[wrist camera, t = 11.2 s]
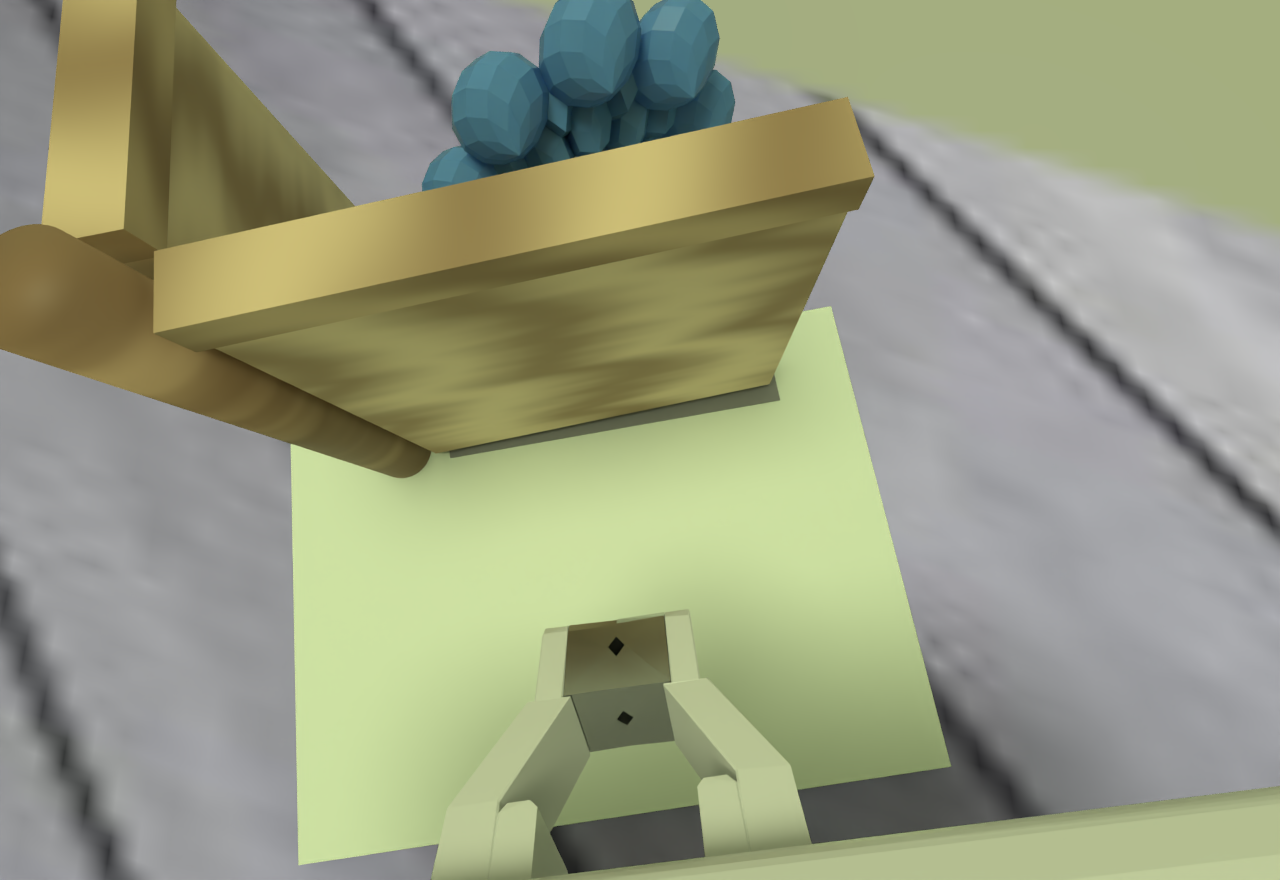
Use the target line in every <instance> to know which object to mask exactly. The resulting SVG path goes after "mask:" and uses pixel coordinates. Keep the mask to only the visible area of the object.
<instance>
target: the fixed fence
mask: <svg viewBox="0 0 1280 880" xmlns="http://www.w3.org/2000/svg"><path fill="white" fill-rule="evenodd" d="M350 207H355V206H354V205H353V204H352V202H351V201H350V200H349V199H348V198H347V197H346V196H345V195H344V194H343V192H342V191H341V190H340V189H339V188H338V187H337V186H336V185H335V184H334V182H333V181H332V180H331V179H330V178H329V177H328V176H327V175H326V174H325V172H324V171H323V170H322V169H321V168H320V167H319V166H318V165H317V164H316V162H315V161H314V160H313V159H312V158H311V157H310V156H309V155H308V154H307V153H306V151H305V150H304V149H303V148H302V147H301V146H300V145H299V144H298V143H297V141H296V140H295V139H294V138H293V137H292V136H291V135H290V134H289V133H288V131H287V130H286V129H285V128H284V127H283V126H282V125H281V124H280V123H279V121H278V120H277V119H276V118H275V117H274V116H273V115H272V114H271V113H270V111H269V110H268V109H267V108H266V107H265V106H264V105H263V104H262V103H261V101H260V100H259V99H258V98H257V97H256V96H255V95H254V94H253V93H252V91H251V90H250V89H249V88H248V87H247V86H246V85H245V84H244V83H243V81H242V80H241V79H240V78H239V77H238V76H237V75H236V74H235V73H234V72H233V70H232V69H231V68H230V67H229V66H228V65H227V64H226V63H225V62H224V60H223V59H222V58H221V57H220V56H219V55H218V54H217V53H216V52H215V50H214V49H213V48H212V47H211V46H210V45H209V44H208V43H207V42H206V40H205V39H204V38H203V37H202V36H201V35H200V34H199V33H198V32H197V30H196V29H195V28H194V27H193V26H192V25H191V24H190V23H189V22H188V20H187V19H186V18H185V17H184V16H183V15H182V14H181V13H180V12H179V10H178V9H177V8H176V0H63V6H62V16H61V27H60V37H59V48H58V58H57V69H56V79H55V90H54V100H53V111H52V121H51V132H50V142H49V153H48V163H47V174H46V184H45V195H44V205H43V216H42V224H32V225H25V226H21V227H17V228H14V229H12V230H9V231H7V232H5V233H3V234H1V235H0V349H2V350H5V351H8V352H11V353H14V354H17V355H20V356H23V357H26V358H30V359H33V360H36V361H39V362H42V363H45V364H48V365H51V366H54V367H57V368H60V369H63V370H66V371H69V372H73V373H76V374H79V375H82V376H85V377H88V378H91V379H94V380H97V381H100V382H103V383H106V384H109V385H112V386H115V387H119V388H122V389H125V390H128V391H131V392H134V393H137V394H140V395H143V396H146V397H149V398H152V399H155V400H158V401H162V402H165V403H168V404H171V405H174V406H177V407H180V408H183V409H186V410H189V411H192V412H195V413H198V414H201V415H204V416H208V417H211V418H214V419H217V420H220V421H223V422H226V423H229V424H232V425H235V426H238V427H241V428H244V429H247V430H250V431H254V432H257V433H260V434H263V435H266V436H269V437H272V438H275V439H278V440H281V441H284V442H287V443H290V444H293V445H297V446H300V447H303V448H306V449H309V450H312V451H315V452H318V453H321V454H324V455H327V456H330V457H333V458H336V459H339V460H343V461H346V462H349V463H352V464H355V465H358V466H361V467H364V468H367V469H370V470H373V471H376V472H379V473H382V474H386V475H389V476H392V477H395V478H407V477H411V476H413V475H415V474H417V473H418V472H420V471H421V470H422V469H423V468H424V467H425V465H426V464H427V462H428V460H429V458H430V454H431V451H429V450H427V449H425V448H423V447H421V446H419V445H417V444H415V443H413V442H411V441H408V440H406V439H404V438H402V437H400V436H398V435H396V434H394V433H392V432H390V431H387V430H385V429H383V428H381V427H379V426H377V425H375V424H373V423H371V422H369V421H366V420H364V419H362V418H360V417H358V416H356V415H354V414H352V413H350V412H348V411H345V410H343V409H341V408H339V407H337V406H335V405H333V404H331V403H329V402H327V401H324V400H322V399H320V398H318V397H316V396H314V395H312V394H310V393H308V392H306V391H303V390H301V389H299V388H297V387H295V386H293V385H291V384H289V383H287V382H285V381H282V380H280V379H278V378H276V377H274V376H272V375H270V374H268V373H266V372H264V371H261V370H259V369H257V368H255V367H253V366H251V365H249V364H247V363H245V362H243V361H240V360H238V359H236V358H234V357H232V356H230V355H228V354H226V353H224V352H222V351H219V350H217V349H210V350H205V351H201V352H194V351H192V350H190V349H187V348H185V347H183V346H181V345H178V344H176V343H174V342H172V341H170V340H167V339H165V338H163V337H161V336H158V335H156V334H154V333H153V308H154V251H157V250H161V249H166V248H170V247H175V246H179V245H184V244H188V243H193V242H197V241H202V240H206V239H211V238H215V237H220V236H224V235H229V234H233V233H238V232H242V231H247V230H251V229H256V228H260V227H265V226H269V225H274V224H278V223H283V222H287V221H292V220H296V219H301V218H305V217H310V216H314V215H319V214H323V213H328V212H332V211H337V210H341V209H346V208H350Z"/></svg>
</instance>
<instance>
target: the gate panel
mask: <svg viewBox="0 0 1280 880" xmlns="http://www.w3.org/2000/svg"><path fill="white" fill-rule="evenodd" d="M873 178H874V173H873V170H872V167H871V164H870V161H869V158H868V155H867V153H866V150H865V147H864V144H863V141H862V138H861V135H860V132H859V129H858V126H857V123H856V120H855V117H854V114H853V111H852V108H851V105H850V102H849V99H848V97H846V98H841V99H837V100H832V101H828V102H823V103H819V104H814V105H810V106H805V107H801V108H796V109H792V110H787V111H783V112H778V113H774V114H769V115H765V116H760V117H756V118H751V119H747V120H742V121H738V122H733V123H729V124H724V125H720V126H715V127H711V128H706V129H702V130H697V131H693V132H688V133H684V134H679V135H675V136H670V137H666V138H661V139H657V140H652V141H648V142H643V143H639V144H634V145H630V146H625V147H621V148H616V149H612V150H607V151H603V152H598V153H594V154H589V155H585V156H580V157H576V158H571V159H567V160H562V161H558V162H553V163H549V164H544V165H540V166H535V167H531V168H526V169H522V170H517V171H513V172H508V173H504V174H499V175H495V176H490V177H486V178H481V179H477V180H472V181H468V182H463V183H459V184H454V185H450V186H445V187H441V188H436V189H432V190H427V191H423V192H418V193H414V194H409V195H405V196H400V197H396V198H391V199H387V200H382V201H378V202H373V203H368V204H364V205H359V206H355V207H350V208H346V209H341V210H337V211H332V212H328V213H323V214H319V215H314V216H310V217H305V218H301V219H296V220H292V221H287V222H283V223H278V224H274V225H269V226H265V227H260V228H256V229H251V230H247V231H242V232H238V233H233V234H229V235H224V236H220V237H215V238H211V239H206V240H202V241H197V242H193V243H188V244H184V245H179V246H175V247H170V248H166V249H161V250H157V251H154V308H153V333H154V334H156V335H158V336H161V337H163V338H165V339H167V340H170V341H172V342H174V343H176V344H178V345H181V346H183V347H185V348H187V349H190V350H192V351H194V352H201V351H205V350H210V349H217V350H219V351H222V352H224V353H226V354H228V355H230V356H232V357H234V358H236V359H238V360H240V361H243V362H245V363H247V364H249V365H251V366H253V367H255V368H257V369H259V370H261V371H264V372H266V373H268V374H270V375H272V376H274V377H276V378H278V379H280V380H282V381H285V382H287V383H289V384H291V385H293V386H295V387H297V388H299V389H301V390H303V391H306V392H308V393H310V394H312V395H314V396H316V397H318V398H320V399H322V400H324V401H327V402H329V403H331V404H333V405H335V406H337V407H339V408H341V409H343V410H345V411H348V412H350V413H352V414H354V415H356V416H358V417H360V418H362V419H364V420H366V421H369V422H371V423H373V424H375V425H377V426H379V427H381V428H383V429H385V430H387V431H390V432H392V433H394V434H396V435H398V436H400V437H402V438H404V439H406V440H408V441H411V442H413V443H415V444H417V445H419V446H421V447H423V448H425V449H427V450H429V451H432V452H434V453H441V452H446V451H451V450H455V449H460V448H465V447H470V446H475V445H479V444H484V443H489V442H494V441H499V440H503V439H508V438H513V437H518V436H523V435H528V434H532V433H537V432H542V431H547V430H552V429H556V428H561V427H566V426H571V425H576V424H580V423H585V422H590V421H595V420H600V419H604V418H609V417H614V416H619V415H624V414H628V413H633V412H638V411H643V410H648V409H652V408H657V407H662V406H667V405H672V404H677V403H681V402H686V401H691V400H696V399H701V398H705V397H710V396H715V395H720V394H725V393H729V392H734V391H739V390H744V389H749V388H753V387H758V386H763V385H768V384H770V382H771V380H772V378H773V375H774V373H775V371H776V369H777V367H778V364H779V362H780V360H781V358H782V356H783V353H784V351H785V349H786V347H787V345H788V342H789V340H790V338H791V336H792V333H793V331H794V329H795V327H796V325H797V322H798V320H799V318H800V316H801V314H802V311H803V309H804V307H805V305H806V303H807V300H808V298H809V296H810V294H811V292H812V289H813V287H814V285H815V283H816V280H817V278H818V276H819V274H820V272H821V269H822V267H823V265H824V263H825V261H826V258H827V256H828V254H829V252H830V250H831V247H832V245H833V243H834V241H835V239H836V236H837V234H838V232H839V230H840V227H841V225H842V223H843V221H844V219H845V216H846V214H847V212H848V211H853V210H858V209H859V207H860V205H861V203H862V201H863V199H864V197H865V195H866V193H867V191H868V189H869V187H870V184H871V182H872V180H873Z"/></svg>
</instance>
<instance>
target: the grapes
mask: <svg viewBox="0 0 1280 880" xmlns="http://www.w3.org/2000/svg"><path fill="white" fill-rule="evenodd" d="M719 39H720V38H719V33H718V29H717V24H716V20H715V16H714V12H713V11H712V10H711V9H710V8H709V7H708V6H707V5H706V4H704V3H703V2H702V1H701V0H662V1H660V2H658V3H656V4H655V5H654V6H653V7H652V8H651V9H650V10H649V11H648V12H647V13H646V14H645V15H644V16H643V17H642V19H641V20H640V21H639V19H638V16H637V13H636V9H635V6H634V3H633V1H632V0H558V1H557V2H556V3H555V5H554V7H553V10H552V12H551V14H550V16H549V19H548V21H547V23H546V26H545V28H544V30H543V33H542V35H541V37H540V50H539V68H538V67H537V66H535V65H534V64H533V63H531V62H530V61H528V60H527V59H526V58H524V57H523V56H522V55H520V54H518V53H512V52H495V51H489V52H487V53H486V54H484V55H482V56H480V57H479V58H477V59H475V60H474V61H473V62H472V63H471V64H470V65H468V66H467V67H466V68H465V69H464V70H463V71H462V73H461V75H460V77H459V80H458V82H457V85H456V87H455V90H454V92H453V95H452V101H451V107H452V129H453V131H454V133H455V135H456V137H457V138H458V140H459V142H460V144H461V146H457V147H453V148H450V149H448V150H446V151H443V152H442V153H441V154H440V155H439V156H438V157H436V158H435V159H434V160H433V161H432V162H431V163H430V165H429V168H428V170H427V173H426V175H425V178H424V180H423V182H422V192H423V191H427V190H432V189H436V188H441V187H445V186H450V185H454V184H459V183H463V182H468V181H472V180H477V179H481V178H486V177H490V176H495V175H499V174H504V173H508V172H513V171H517V170H522V169H526V168H531V167H535V166H540V165H544V164H549V163H553V162H558V161H562V160H567V159H571V158H576V157H580V156H585V155H589V154H594V153H598V152H603V151H607V150H612V149H616V148H621V147H625V146H630V145H634V144H639V143H643V142H648V141H652V140H657V139H661V138H666V137H670V136H675V135H679V134H684V133H688V132H693V131H697V130H702V129H706V128H711V127H715V126H720V125H724V124H729V123H731V121H732V116H733V111H734V106H735V99H734V95H733V90H732V86H731V82H730V81H729V80H727V79H726V78H725V77H724V76H723V75H721V74H720V73H719V72H718V71H717V70H713V68H714V66H715V61H716V55H717V50H718V44H719Z"/></svg>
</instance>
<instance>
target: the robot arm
mask: <svg viewBox="0 0 1280 880" xmlns="http://www.w3.org/2000/svg"><path fill="white" fill-rule="evenodd" d="M670 741H675V743H676V745H677V746H678V748H679V749H680V750H681V752H682V753H683V755H684V756H685V757H686V759H687V760H688V762H689V763H690V764H691V766H692V767H693V769H694V770H695V771H696V773H697V774H698V776H699V777H700V778H701V782H700V783H699V785H698V786H697V789H698V798H699V807H700V816H701V825H702V834H703V842H704V851H705V857H703V858H695V859H687V860H679V861H670V862H662V863H654V864H646V865H638V866H630V867H622V868H614V869H606V870H598V871H590V872H581V873H573V874H568V871H567V869H566V867H565V864H564V862H563V860H562V858H561V856H560V854H559V852H558V850H557V847H556V845H555V843H554V841H553V839H552V837H551V835H550V832H551V830H552V828H553V826H554V824H555V823H556V821H557V819H558V817H559V815H560V813H561V811H562V809H563V807H564V805H565V803H566V801H567V800H568V798H569V796H570V794H571V792H572V790H573V788H574V786H575V784H576V782H577V780H578V778H579V777H580V775H581V773H582V771H583V769H584V767H585V765H586V763H587V761H588V759H589V757H590V752H595V751H601V750H607V749H613V748H619V747H626V746H632V745H641V744H651V743H661V742H670ZM431 880H1280V786H1276V787H1268V788H1260V789H1252V790H1244V791H1236V792H1228V793H1220V794H1212V795H1204V796H1195V797H1187V798H1179V799H1171V800H1163V801H1155V802H1147V803H1139V804H1131V805H1123V806H1115V807H1107V808H1099V809H1091V810H1083V811H1075V812H1067V813H1059V814H1051V815H1043V816H1035V817H1027V818H1018V819H1010V820H1002V821H994V822H986V823H978V824H970V825H962V826H954V827H946V828H938V829H930V830H922V831H914V832H906V833H898V834H890V835H882V836H874V837H866V838H858V839H850V840H841V841H833V842H825V843H817V844H812V843H811V840H810V836H809V832H808V828H807V825H806V821H805V817H804V814H803V810H802V806H801V802H800V799H799V795H798V791H797V788H796V784H795V780H794V776H793V773H792V769H791V765H790V764H789V763H788V762H787V761H786V760H785V759H784V758H783V757H782V756H781V754H780V753H779V752H778V751H777V750H776V749H775V748H774V747H773V746H772V745H771V744H770V743H769V742H768V741H767V740H766V739H765V738H764V737H763V736H762V734H761V733H760V732H759V731H758V730H757V729H756V728H755V727H754V726H753V725H752V724H751V723H750V722H749V721H748V720H747V719H746V718H745V717H744V716H743V714H742V713H741V712H740V711H739V710H738V709H737V708H736V707H735V706H734V705H733V704H732V703H731V702H730V701H729V700H728V699H727V698H726V697H725V696H724V694H723V693H722V692H721V691H720V690H719V689H718V688H717V687H716V686H715V685H714V684H713V683H712V682H711V681H710V680H709V679H708V678H700V674H699V667H698V661H697V654H696V648H695V642H694V635H693V629H692V622H691V616H690V611H689V609H684V610H677V611H670V612H665V614H664V612H661V613H655V614H648V615H642V616H635V617H628V618H622V619H617V620H613V621H604V622H595V623H587V624H578V625H570V626H563V627H555V628H546V629H545V631H544V633H543V636H542V644H541V652H540V660H539V668H538V677H537V685H536V693H535V701H531V702H527V703H526V705H525V706H524V707H523V709H522V710H521V711H520V712H519V714H518V715H517V716H516V718H515V719H514V720H513V722H512V723H511V724H510V726H509V727H508V728H507V730H506V731H505V732H504V734H503V735H502V736H501V738H500V739H499V740H498V742H497V743H496V744H495V746H494V747H493V748H492V750H491V751H490V752H489V753H488V755H487V756H486V757H485V759H484V760H483V761H482V763H481V764H480V765H479V767H478V768H477V769H476V771H475V772H474V773H473V775H472V776H471V777H470V779H469V780H468V781H467V783H466V784H465V785H464V787H463V788H462V789H461V791H460V792H459V793H458V794H457V796H456V797H455V798H454V800H453V801H452V802H451V804H450V805H449V806H448V808H447V811H446V815H445V820H444V824H443V829H442V833H441V837H440V842H439V846H438V851H437V855H436V859H435V864H434V868H433V872H432V877H431Z"/></svg>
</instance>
